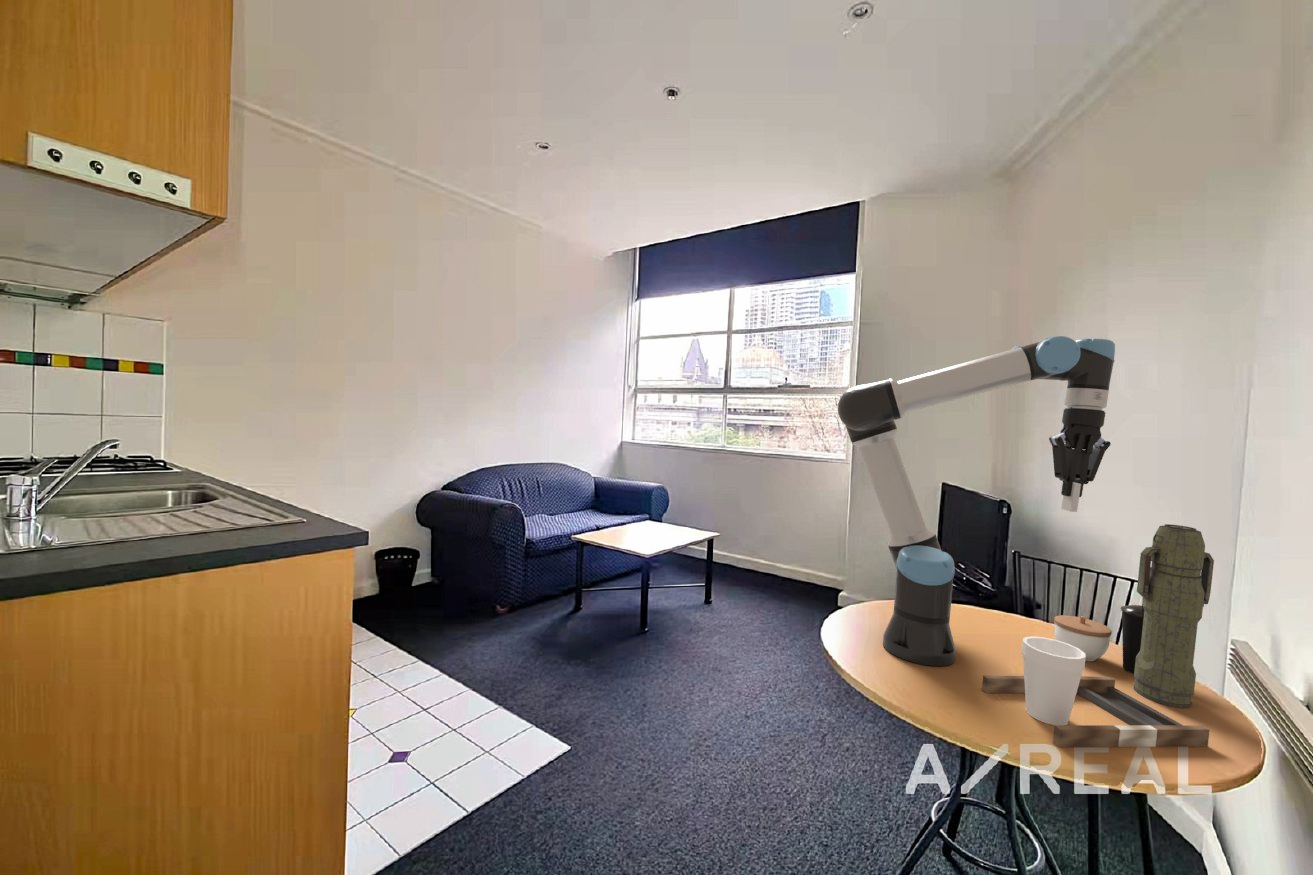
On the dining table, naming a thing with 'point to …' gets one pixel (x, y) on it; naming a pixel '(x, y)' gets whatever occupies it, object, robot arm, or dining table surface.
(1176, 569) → the thermos
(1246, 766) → the dining table surface
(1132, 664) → the drinking cup
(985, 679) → the lane
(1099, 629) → the lidded jar
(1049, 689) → the foam cup
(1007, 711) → the dining table surface
